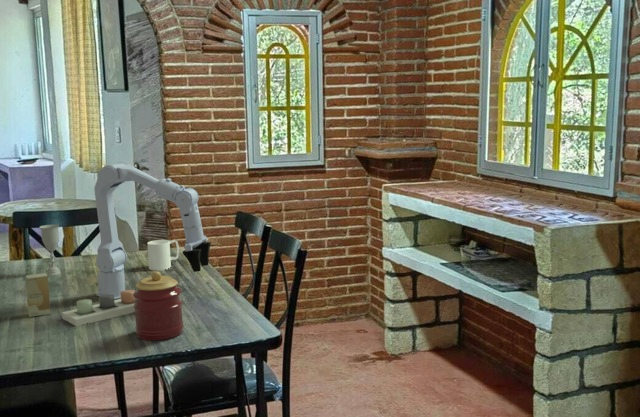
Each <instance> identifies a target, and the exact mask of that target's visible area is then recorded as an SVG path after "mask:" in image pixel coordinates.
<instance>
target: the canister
mask: <svg viewBox="0 0 640 417" xmlns="http://www.w3.org/2000/svg"><path fill="white" fill-rule="evenodd" d="M178 284H179V283H178V280H176V279H174V278H172V277H171V276H167V275H162V274H161V272H159V270H158V271H155V270H154V271H153V272H152V273H151V276H148V277H145V278H142V279H141V280H140V281H139V282H137V283H136V284H135V288H136V290H135V292H134V293H133V296H134V297H135V304H134V308H135V312H134V318H135V333H136V336H137V338H139V339H141V340H143V341H144V340H145V341H163V340H164V341H165V340H169V339H173V338H175V337H176V338H177V336H180V335H181V334H182V333H183V331H184V330H183V329H184V320H183V309H182V307H183V306H182V304H183V301H182V299H181V296H180V294H181V293H182V288H180V287H179V286H177V285H178Z"/></svg>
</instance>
